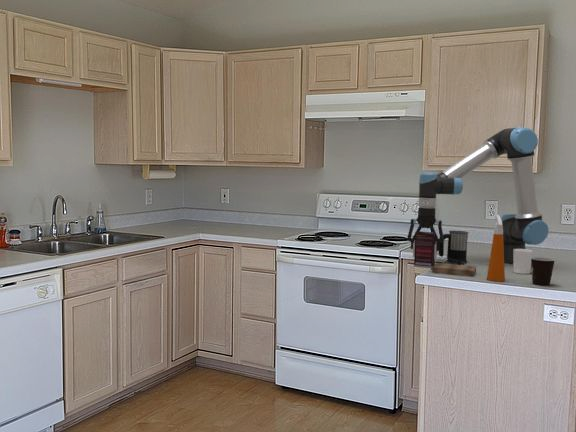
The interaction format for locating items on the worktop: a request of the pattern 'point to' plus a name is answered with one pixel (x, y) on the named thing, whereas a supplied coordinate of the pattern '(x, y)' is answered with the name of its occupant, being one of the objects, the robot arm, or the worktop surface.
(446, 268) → the walnut board
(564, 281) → the worktop surface
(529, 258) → the white cup
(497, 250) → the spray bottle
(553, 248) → the worktop surface
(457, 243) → the black pitcher
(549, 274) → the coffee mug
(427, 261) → the supplement box
